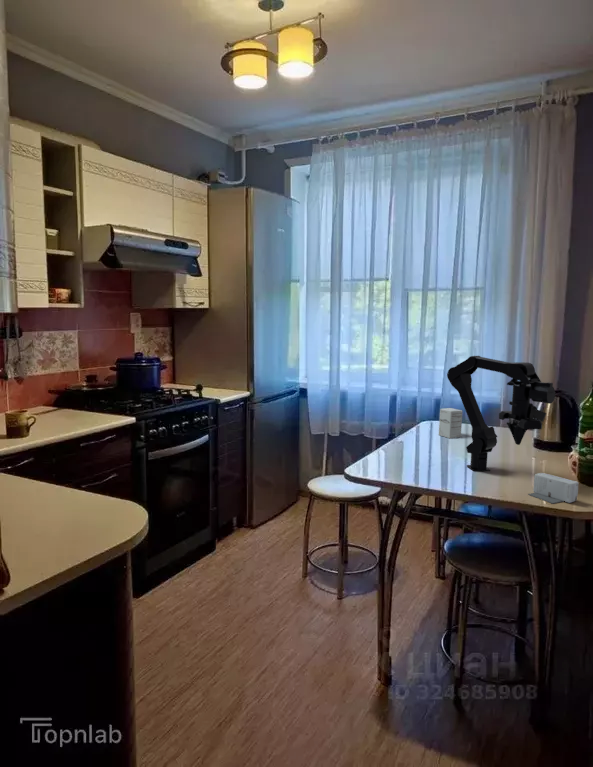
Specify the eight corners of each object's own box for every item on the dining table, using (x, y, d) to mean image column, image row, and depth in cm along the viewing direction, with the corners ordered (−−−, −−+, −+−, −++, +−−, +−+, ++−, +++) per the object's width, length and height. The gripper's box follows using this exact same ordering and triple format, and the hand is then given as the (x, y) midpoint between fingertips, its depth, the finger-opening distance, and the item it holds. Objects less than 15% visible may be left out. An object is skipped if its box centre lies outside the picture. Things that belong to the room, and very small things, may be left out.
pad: (528, 494, 176) (528, 493, 176) (546, 491, 180) (547, 490, 180) (552, 503, 168) (552, 502, 168) (571, 500, 172) (571, 499, 172)
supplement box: (438, 435, 259) (439, 408, 257) (450, 434, 262) (451, 407, 261) (449, 438, 253) (450, 411, 251) (461, 437, 256) (463, 410, 254)
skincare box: (533, 474, 177) (570, 483, 167) (542, 472, 179) (579, 481, 169) (532, 493, 178) (569, 503, 168) (541, 490, 180) (577, 500, 170)
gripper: (559, 404, 181) (555, 451, 183) (529, 395, 200) (526, 438, 202) (526, 404, 180) (523, 451, 182) (499, 395, 199) (496, 438, 201)
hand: (517, 444), depth 192 cm, fingers closed
